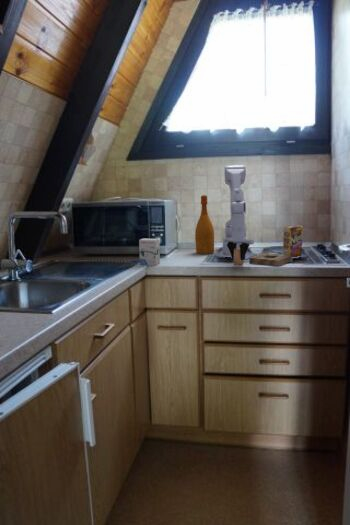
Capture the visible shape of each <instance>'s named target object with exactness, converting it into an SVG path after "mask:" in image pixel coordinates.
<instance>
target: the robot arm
mask: <svg viewBox="0 0 350 525" xmlns="http://www.w3.org/2000/svg"><path fill="white" fill-rule="evenodd" d="M246 169H247V168H246V165H245V164H243V165H241V164H240V165H238V164H237V165H225V166H224V182H225V184H226V185H227V186H229V190H230V196H229V198H230V207H229V208H230V219H229V220H227V221H226V222H225V228H224V233H225V234H224V235H225V237H223V238H222V256H231V257H232V258H231V259H232V260H234V249H237V248H239V249H240V252H241V260H243V261H244V260H245V258H246V257H247V255H246V254H247V251H248V249H249V248H250V245H251V246H252V245H254V244H255V239H251V238H247V237H246V236H247V227H246V222H245V221H246V220H245V215H246V213H247V212H246V211H247V206H246V201H245V198H244V197H245V196H244V195H245V194H244V190H243V189H242V188H241V186H242V185H243V184H245V181H246V171H247V170H246ZM245 256H246V257H245Z"/></svg>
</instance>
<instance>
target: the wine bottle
mask: <svg viewBox="0 0 350 525" xmlns="http://www.w3.org/2000/svg"><path fill="white" fill-rule="evenodd" d="M200 204H201V205H200V206H201V210H200V214H199V215H200V216H199V218H198V221H197V224H196V225H195V226H196V227H195V230H194V233H195V235H194V237H195V238H194V239H195V252H196V254H199V255H210V254H213V253H214V252H215V230H214V225H213V223H212V220H211V218H210V217H209V216H210V215H209V212H208V195H206V194H202V195H201V196H200Z"/></svg>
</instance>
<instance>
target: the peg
mask: <svg viewBox="0 0 350 525" xmlns="http://www.w3.org/2000/svg"><path fill="white" fill-rule="evenodd" d="M243 262H244V260H241V252H240V249H239V248H237V249H234V259H233V265H234V266H243V264H244V263H243Z"/></svg>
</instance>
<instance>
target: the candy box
mask: <svg viewBox="0 0 350 525" xmlns="http://www.w3.org/2000/svg"><path fill="white" fill-rule="evenodd" d="M303 229H304V227H303V225H293V226H292V225H291V226H284V227H283V241H282V243H283V244H282V255H291V258H292V257H297V256H301V257H302V254H303V252H302V250H303Z"/></svg>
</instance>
